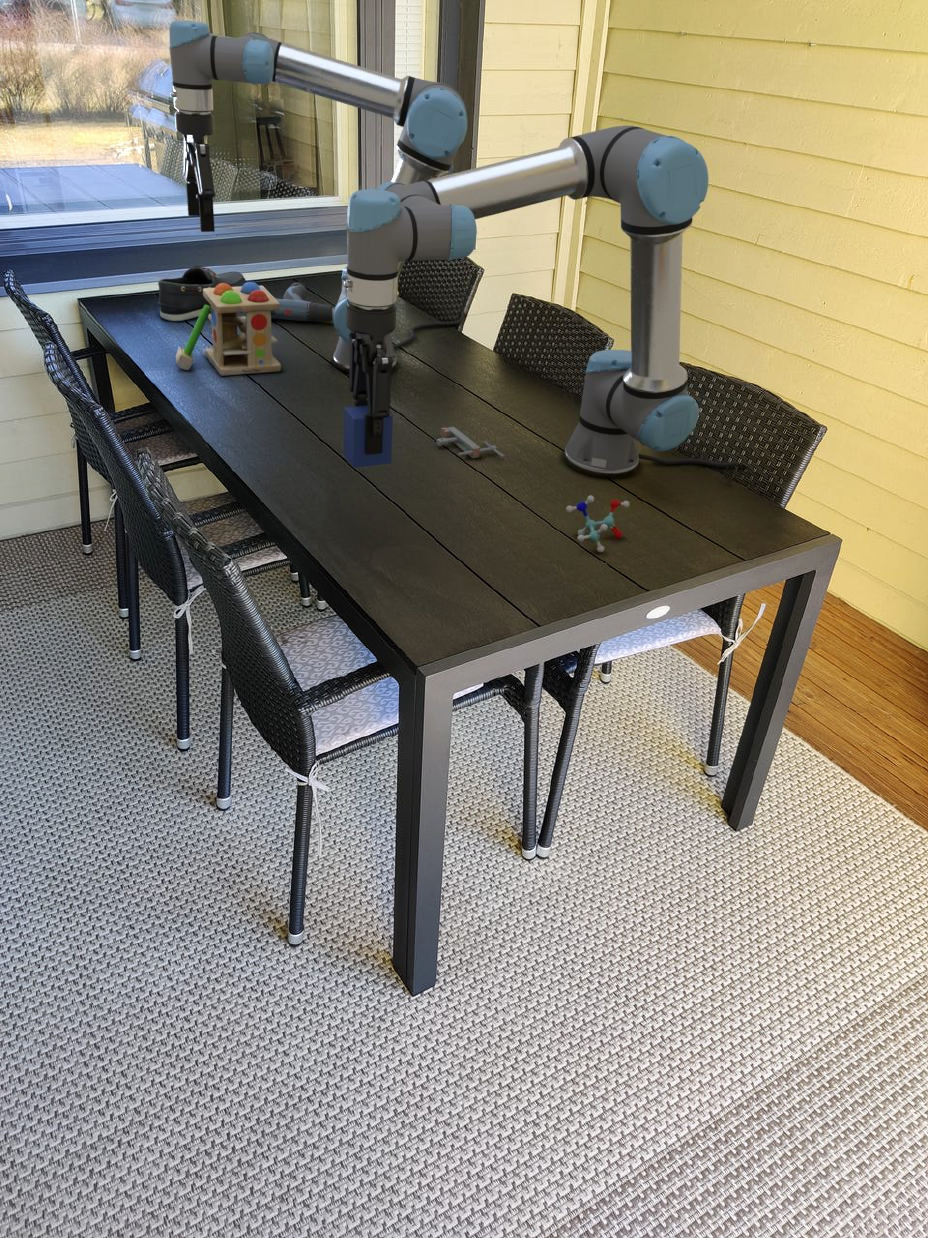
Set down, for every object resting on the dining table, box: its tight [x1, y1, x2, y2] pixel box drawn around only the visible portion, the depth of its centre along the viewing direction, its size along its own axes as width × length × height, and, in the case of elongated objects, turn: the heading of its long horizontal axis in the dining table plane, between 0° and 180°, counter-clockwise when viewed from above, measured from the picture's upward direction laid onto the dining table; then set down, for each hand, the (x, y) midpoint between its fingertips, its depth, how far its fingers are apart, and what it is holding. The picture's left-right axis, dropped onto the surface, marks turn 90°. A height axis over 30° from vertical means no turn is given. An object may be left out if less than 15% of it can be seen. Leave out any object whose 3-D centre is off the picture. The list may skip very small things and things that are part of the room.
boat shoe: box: [157, 265, 247, 322], centre depth 263 cm, size 13×33×10 cm, turn 147°
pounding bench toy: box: [174, 281, 282, 377], centre depth 225 cm, size 23×14×18 cm, turn 116°
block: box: [343, 405, 394, 469], centre depth 159 cm, size 5×6×8 cm
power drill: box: [271, 282, 335, 322], centre depth 265 cm, size 5×19×20 cm
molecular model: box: [565, 495, 630, 554], centre depth 173 cm, size 12×10×10 cm
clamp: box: [436, 426, 507, 460], centre depth 201 cm, size 15×2×10 cm
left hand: (201, 223), depth 207 cm, fingers open, 13 cm apart
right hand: (367, 445), depth 160 cm, fingers closed on block, 5 cm apart
